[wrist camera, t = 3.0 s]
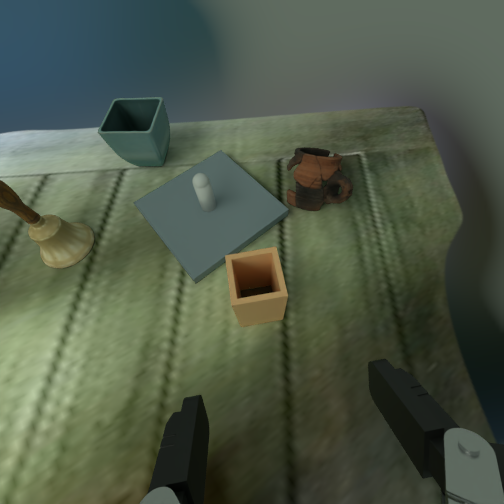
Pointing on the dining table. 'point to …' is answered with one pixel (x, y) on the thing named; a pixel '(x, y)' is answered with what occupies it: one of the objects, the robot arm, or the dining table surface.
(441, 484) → the robot arm
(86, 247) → the hand bell
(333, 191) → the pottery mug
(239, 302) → the collar
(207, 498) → the dining table surface
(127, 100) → the flower pot
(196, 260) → the post board
